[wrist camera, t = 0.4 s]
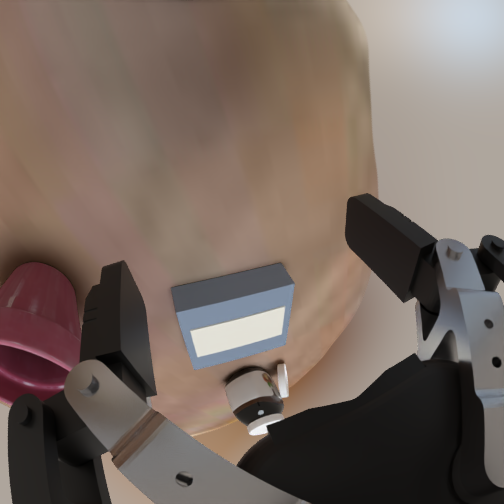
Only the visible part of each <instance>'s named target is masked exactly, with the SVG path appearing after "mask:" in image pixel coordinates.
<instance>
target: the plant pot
mask: <svg viewBox="0 0 504 504" xmlns="http://www.w3.org/2000/svg"><path fill="white" fill-rule="evenodd" d="M80 345H81V328H80V323H79V317H78V311H77V303H76V295H75V291H74V288H73V286H72V284H71V283H70V281H69V280H68V279H67V278H66V277H65V276H64V275H63V274H62V273H61V272H60V271H58V270H57V269H55V268H54V267H51V266H49V265H46V264H43V263H38V262H30V263H25V264H22V265H20V266H18V267H17V268H16V269H15V270H14V271H13V273H12V274H11V275H10V276H9V278H8V279H7V280H6V282H5V283H4V284H3V285H2V287H1V288H0V400H1V401H3V402H5V403H7V404H9V405H12V404H13V403H14V401H15V400H16V399H17V398H18V397H19V396H21V395H23V394H28V393H29V394H33V395H35V396H37V397H38V398H39V399H40V400H41V401H44V400H46V399H48V398H50V397H51V396H53V395H55V394H57V393H59V392H60V391H62V390H64V384H65V380H66V377H67V375H68V374H69V372H70V371H71V370H72V369H73V367H75V366H76V365H77V364H79V359H80Z"/></svg>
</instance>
